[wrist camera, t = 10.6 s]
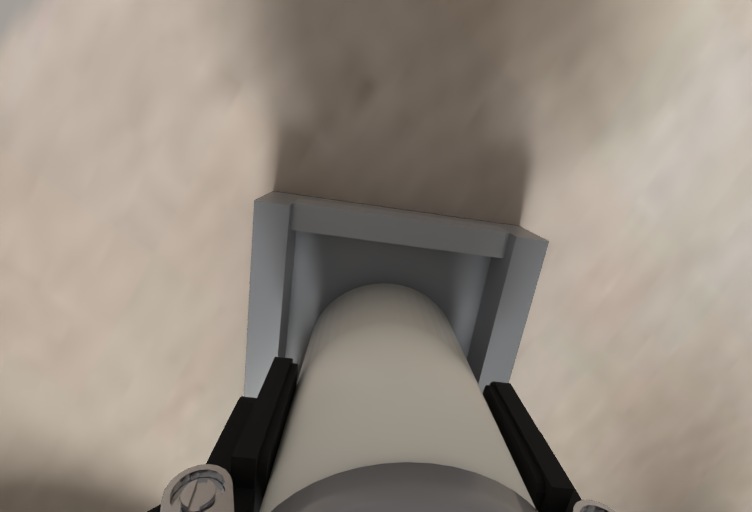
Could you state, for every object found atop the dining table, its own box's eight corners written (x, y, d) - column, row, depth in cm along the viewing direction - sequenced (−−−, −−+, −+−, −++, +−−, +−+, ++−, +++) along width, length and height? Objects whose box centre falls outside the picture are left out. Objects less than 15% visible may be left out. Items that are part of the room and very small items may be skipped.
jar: (471, 291, 15) (659, 553, 5) (441, 420, 16) (540, 791, 7) (314, 271, 14) (214, 515, 5) (300, 405, 16) (206, 778, 7)
